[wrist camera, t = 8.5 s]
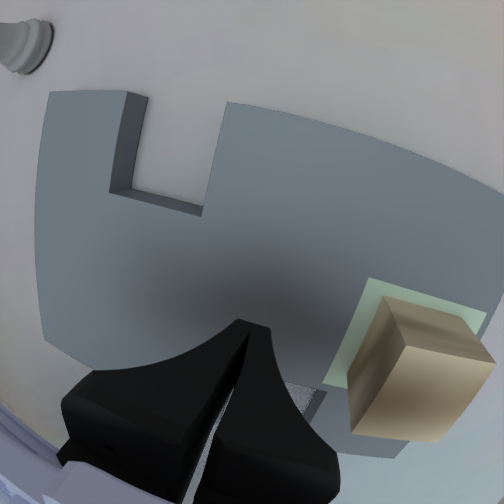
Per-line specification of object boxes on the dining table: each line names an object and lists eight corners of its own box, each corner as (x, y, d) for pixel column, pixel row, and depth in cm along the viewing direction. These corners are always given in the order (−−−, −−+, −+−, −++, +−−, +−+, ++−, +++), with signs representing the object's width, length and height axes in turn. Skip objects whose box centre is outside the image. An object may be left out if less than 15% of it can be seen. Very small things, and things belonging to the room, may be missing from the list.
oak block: (420, 388, 13) (437, 442, 9) (346, 373, 14) (350, 433, 10) (461, 316, 12) (496, 363, 8) (383, 295, 12) (406, 345, 8)
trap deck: (390, 437, 17) (393, 458, 15) (60, 328, 20) (44, 340, 18) (510, 205, 11) (531, 211, 10) (71, 95, 14) (49, 91, 12)
